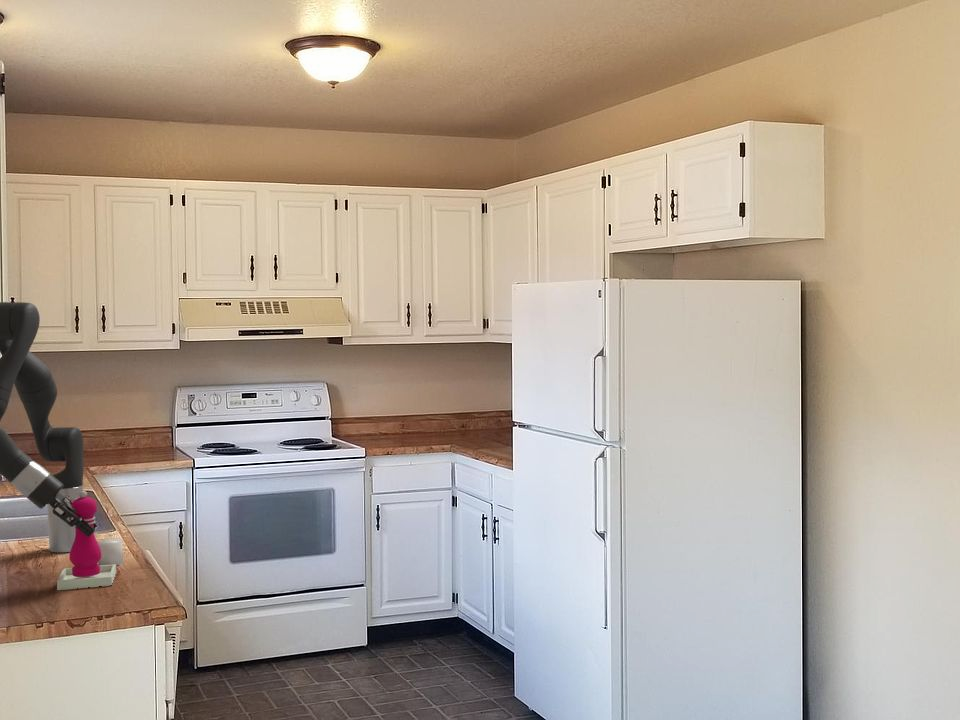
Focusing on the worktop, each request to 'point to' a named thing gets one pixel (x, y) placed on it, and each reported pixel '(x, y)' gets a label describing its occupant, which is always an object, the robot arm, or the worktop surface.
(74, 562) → the pepper mill
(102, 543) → the grey rounded block
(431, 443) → the worktop surface
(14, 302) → the robot arm
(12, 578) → the worktop surface
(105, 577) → the tray
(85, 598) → the worktop surface
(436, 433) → the worktop surface
